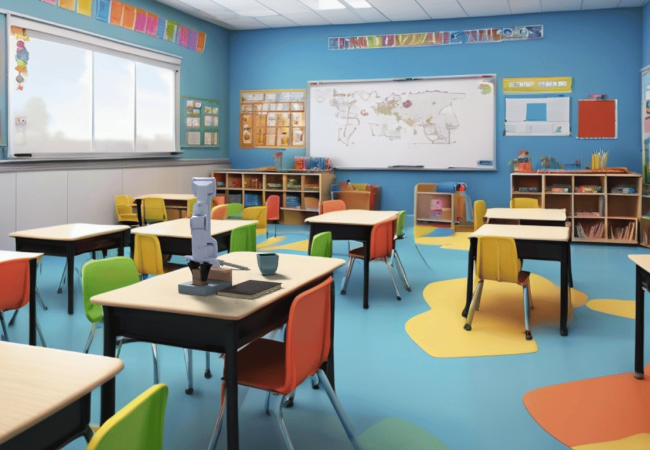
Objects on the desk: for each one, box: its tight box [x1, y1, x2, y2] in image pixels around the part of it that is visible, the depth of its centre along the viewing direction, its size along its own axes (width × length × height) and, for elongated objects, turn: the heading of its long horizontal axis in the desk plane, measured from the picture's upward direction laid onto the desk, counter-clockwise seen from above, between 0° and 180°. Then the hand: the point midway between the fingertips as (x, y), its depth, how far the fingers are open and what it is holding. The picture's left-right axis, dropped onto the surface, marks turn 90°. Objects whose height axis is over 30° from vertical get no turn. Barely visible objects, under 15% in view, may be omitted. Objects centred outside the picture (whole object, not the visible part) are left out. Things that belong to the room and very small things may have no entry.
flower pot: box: [256, 252, 280, 276], centre depth 271 cm, size 9×9×9 cm
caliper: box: [216, 258, 251, 271], centre depth 284 cm, size 20×1×6 cm, turn 76°
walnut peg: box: [191, 268, 207, 286], centre depth 236 cm, size 4×4×8 cm
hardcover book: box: [216, 279, 283, 300], centre depth 238 cm, size 16×23×2 cm
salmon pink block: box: [199, 266, 233, 282], centre depth 243 cm, size 6×14×5 cm, turn 59°
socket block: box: [177, 278, 233, 297], centre depth 239 cm, size 16×14×3 cm
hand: (200, 280), depth 236 cm, fingers closed on walnut peg, 4 cm apart
